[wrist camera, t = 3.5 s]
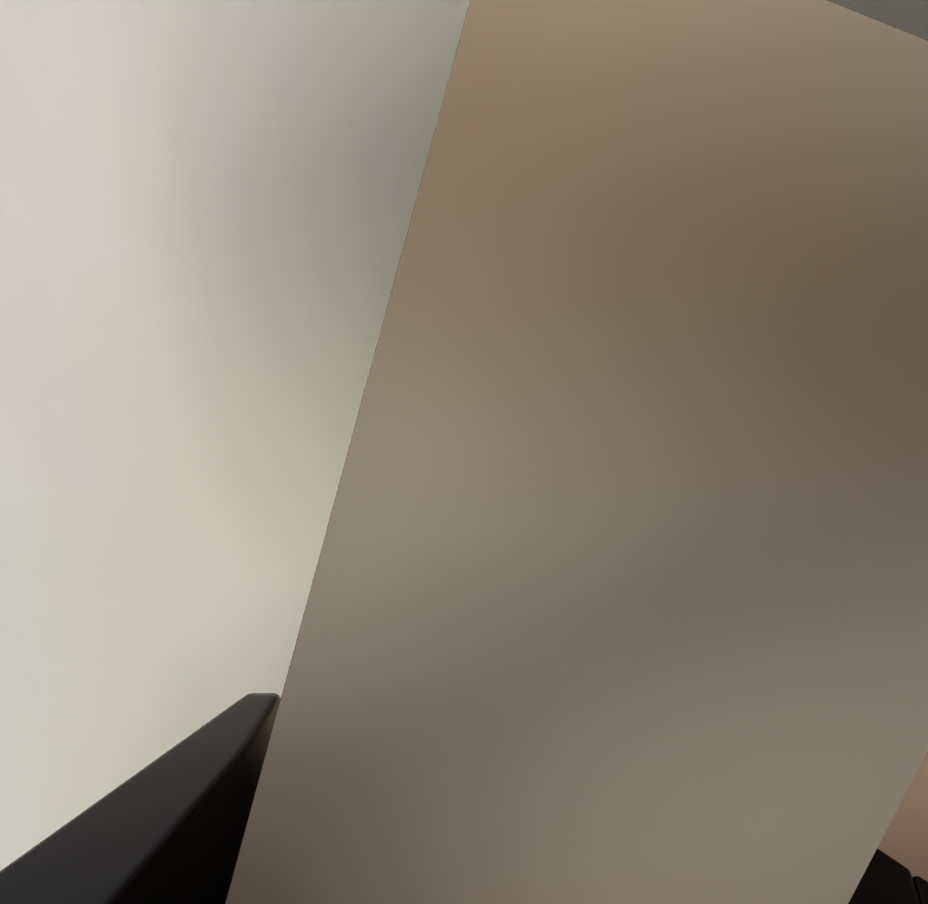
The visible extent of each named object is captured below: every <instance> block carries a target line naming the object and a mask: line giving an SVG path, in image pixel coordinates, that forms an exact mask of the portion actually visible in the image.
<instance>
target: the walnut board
mask: <svg viewBox="0 0 928 904" xmlns="http://www.w3.org/2000/svg"><path fill="white" fill-rule="evenodd" d="M878 849H880V850H881V851H883V852H884V853H886V854H887V855H889V856H890V857H891V858H893V859H894V860H896V861H897V862H899V863H900V864H902V865H903V866H905V867H906V868H908V869H909V870H910V871H911V873H912V876H913V877H914V876H920V877H921V878H923V879H924V880H926V881H927V882H928V752H927V754H926V756H925V757H924V759H923V761H922V763H921V765H920V767H919V769H918V771H917V773H916V775H915V777H914V779H913V780H912V782H911V784H910V786H909V788H908V790H907V792H906V794H905V796H904V798H903V800H902V802H901V803H900V805H899V807H898V809H897V811H896V813H895V815H894V817H893V819H892V821H891V823H890V825H889V826H888V828H887V830H886V832H885V834H884V836H883V838H882V840H881V842H880V844H879V846H878Z"/></svg>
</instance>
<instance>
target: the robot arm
mask: <svg viewBox="0 0 928 904" xmlns="http://www.w3.org/2000/svg"><path fill="white" fill-rule="evenodd" d="M280 700H281V698H280V697H279V695H278V694H274V693H251V694H248V695H246V696H244V697H243V698H242V699H240V700H239V701H237V702H236V703H235V704H233V705H232V706H230V707H229V708H228V709H226V710H225V711H223V712H222V713H221V714H219V715H218V716H216V717H215V718H214V719H212V720H211V721H209V722H208V723H207V724H205V725H204V726H202V727H201V728H200V729H198V730H197V731H195V732H194V733H193V734H191V735H190V736H188V737H187V738H186V739H184V740H183V741H181V742H180V743H179V744H177V745H176V746H174V747H173V748H172V749H170V750H169V751H167V752H166V753H165V754H163V755H162V756H161V757H159V758H158V759H156V760H155V761H154V762H152V763H151V764H149V765H148V766H147V767H145V768H144V769H142V770H141V771H140V772H138V773H137V774H135V775H134V776H133V777H131V778H130V779H128V780H127V781H126V782H124V783H123V784H121V785H120V786H119V787H117V788H116V789H114V790H113V791H112V792H110V793H109V794H107V795H106V796H105V797H103V798H102V799H100V800H99V801H98V802H96V803H95V804H93V805H92V806H91V807H89V808H88V809H86V810H85V811H84V812H82V813H81V814H80V815H78V816H77V817H75V818H74V819H73V820H71V821H70V822H68V823H67V824H66V825H64V826H63V827H61V828H60V829H59V830H57V831H56V832H54V833H53V834H52V835H50V836H49V837H47V838H46V839H45V840H43V841H42V842H40V843H39V844H38V845H36V846H35V847H33V848H32V849H31V850H29V851H28V852H26V853H25V854H24V855H22V856H21V857H19V858H18V859H17V860H15V861H14V862H12V863H11V864H10V865H8V866H7V867H5V868H4V869H3V870H1V871H0V904H225V903H226V899H227V896H228V892H229V888H230V885H231V881H232V877H233V874H234V870H235V866H236V862H237V859H238V855H239V851H240V848H241V844H242V840H243V837H244V833H245V829H246V826H247V822H248V818H249V815H250V811H251V807H252V803H253V800H254V796H255V792H256V789H257V785H258V781H259V778H260V774H261V770H262V767H263V763H264V759H265V756H266V752H267V748H268V744H269V741H270V737H271V733H272V730H273V726H274V722H275V719H276V715H277V711H278V708H279V704H280ZM848 904H928V882H927V881H926V880H924V879H923V878H921V877H920V876H914V877H913V876H912V873H911V871H910V870H909V869H908V868H906V867H905V866H903V865H902V864H900V863H899V862H897V861H896V860H894V859H893V858H891V857H890V856H889V855H887V854H886V853H884V852H883V851H881V850H880V849H878V848H877V849H876V851H875V853H874V855H873V857H872V859H871V861H870V863H869V865H868V867H867V869H866V871H865V872H864V874H863V876H862V878H861V880H860V882H859V884H858V886H857V888H856V890H855V892H854V894H853V895H852V897H851V899H850V901H849V903H848Z"/></svg>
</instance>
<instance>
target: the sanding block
mask: <svg viewBox="0 0 928 904" xmlns="http://www.w3.org/2000/svg"><path fill="white" fill-rule="evenodd" d="M927 752H928V41H927V40H925V39H922V38H920V37H917V36H915V35H912V34H910V33H907V32H905V31H902V30H900V29H897V28H895V27H892V26H890V25H887V24H885V23H882V22H880V21H877V20H875V19H872V18H870V17H868V16H865V15H863V14H860V13H858V12H855V11H853V10H850V9H848V8H845V7H843V6H840V5H838V4H835V3H833V2H830V1H828V0H470V3H469V7H468V10H467V14H466V18H465V22H464V25H463V29H462V33H461V36H460V40H459V44H458V47H457V51H456V55H455V58H454V62H453V66H452V69H451V73H450V77H449V81H448V84H447V88H446V92H445V95H444V99H443V103H442V106H441V110H440V114H439V117H438V121H437V125H436V128H435V132H434V136H433V140H432V143H431V147H430V151H429V154H428V158H427V162H426V165H425V169H424V173H423V176H422V180H421V184H420V188H419V191H418V195H417V199H416V202H415V206H414V210H413V213H412V217H411V221H410V224H409V228H408V232H407V235H406V239H405V243H404V247H403V250H402V254H401V258H400V261H399V265H398V269H397V272H396V276H395V280H394V283H393V287H392V291H391V294H390V298H389V302H388V306H387V309H386V313H385V317H384V320H383V324H382V328H381V331H380V335H379V339H378V342H377V346H376V350H375V353H374V357H373V361H372V365H371V368H370V372H369V376H368V379H367V383H366V387H365V390H364V394H363V398H362V401H361V405H360V409H359V412H358V416H357V420H356V424H355V427H354V431H353V435H352V438H351V442H350V446H349V449H348V453H347V457H346V460H345V464H344V468H343V472H342V475H341V479H340V483H339V486H338V490H337V494H336V497H335V501H334V505H333V508H332V512H331V516H330V519H329V523H328V527H327V531H326V534H325V538H324V542H323V545H322V549H321V553H320V556H319V560H318V564H317V567H316V571H315V575H314V578H313V582H312V586H311V590H310V593H309V597H308V601H307V604H306V608H305V612H304V615H303V619H302V623H301V626H300V630H299V634H298V637H297V641H296V645H295V649H294V652H293V656H292V660H291V663H290V667H289V671H288V674H287V678H286V682H285V685H284V689H283V693H282V697H281V700H280V704H279V708H278V711H277V715H276V719H275V722H274V726H273V730H272V733H271V737H270V741H269V744H268V748H267V752H266V756H265V759H264V763H263V767H262V770H261V774H260V778H259V781H258V785H257V789H256V792H255V796H254V800H253V803H252V807H251V811H250V815H249V818H248V822H247V826H246V829H245V833H244V837H243V840H242V844H241V848H240V851H239V855H238V859H237V862H236V866H235V870H234V874H233V877H232V881H231V885H230V888H229V892H228V896H227V899H226V903H225V904H848V903H849V901H850V899H851V897H852V895H853V894H854V892H855V890H856V888H857V886H858V884H859V882H860V880H861V878H862V876H863V874H864V872H865V871H866V869H867V867H868V865H869V863H870V861H871V859H872V857H873V855H874V853H875V851H876V849H877V848H878V846H879V844H880V842H881V840H882V838H883V836H884V834H885V832H886V830H887V828H888V826H889V825H890V823H891V821H892V819H893V817H894V815H895V813H896V811H897V809H898V807H899V805H900V803H901V802H902V800H903V798H904V796H905V794H906V792H907V790H908V788H909V786H910V784H911V782H912V780H913V779H914V777H915V775H916V773H917V771H918V769H919V767H920V765H921V763H922V761H923V759H924V757H925V756H926V754H927Z"/></svg>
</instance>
